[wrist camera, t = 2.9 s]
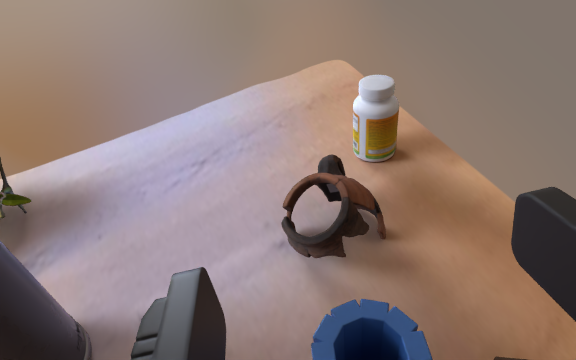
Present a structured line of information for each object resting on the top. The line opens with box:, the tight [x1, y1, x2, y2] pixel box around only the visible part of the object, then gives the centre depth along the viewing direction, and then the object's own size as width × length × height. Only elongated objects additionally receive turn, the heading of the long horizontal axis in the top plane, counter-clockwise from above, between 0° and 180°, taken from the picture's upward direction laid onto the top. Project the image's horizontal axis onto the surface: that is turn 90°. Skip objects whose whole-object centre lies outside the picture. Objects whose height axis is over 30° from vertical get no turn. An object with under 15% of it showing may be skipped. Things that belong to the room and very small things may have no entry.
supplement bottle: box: [353, 75, 399, 162], centre depth 46 cm, size 5×5×10 cm
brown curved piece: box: [282, 155, 386, 258], centre depth 38 cm, size 12×10×8 cm
